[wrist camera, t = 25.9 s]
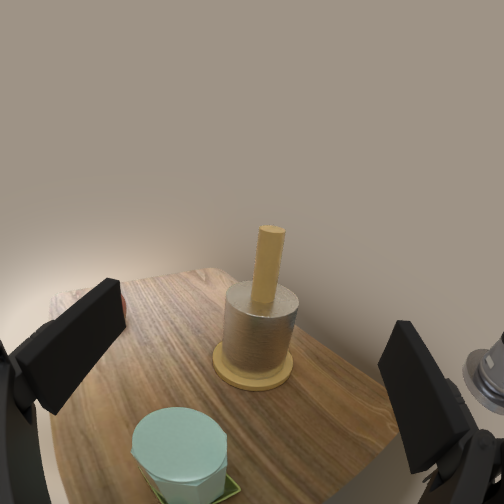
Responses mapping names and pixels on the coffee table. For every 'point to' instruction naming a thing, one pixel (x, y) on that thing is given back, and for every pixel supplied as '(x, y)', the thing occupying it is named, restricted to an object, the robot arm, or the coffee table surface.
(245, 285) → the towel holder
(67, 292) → the coffee table surface
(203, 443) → the jar
